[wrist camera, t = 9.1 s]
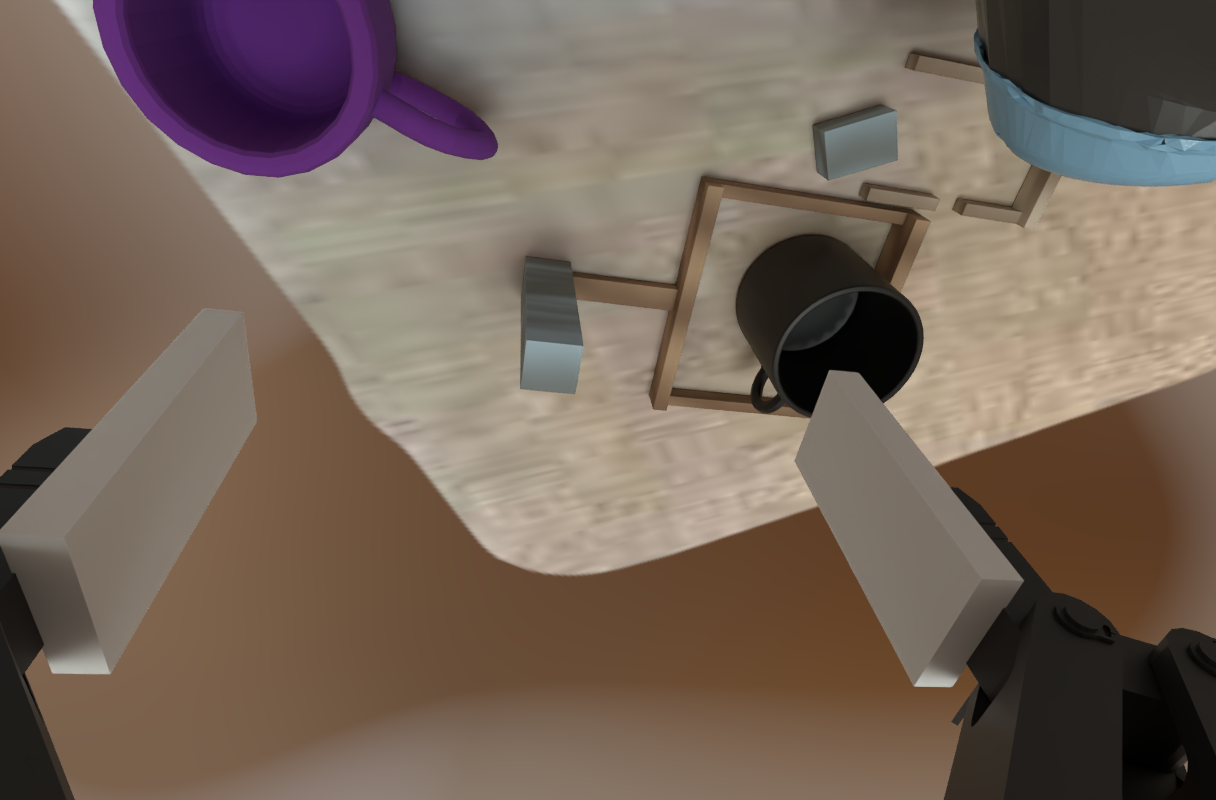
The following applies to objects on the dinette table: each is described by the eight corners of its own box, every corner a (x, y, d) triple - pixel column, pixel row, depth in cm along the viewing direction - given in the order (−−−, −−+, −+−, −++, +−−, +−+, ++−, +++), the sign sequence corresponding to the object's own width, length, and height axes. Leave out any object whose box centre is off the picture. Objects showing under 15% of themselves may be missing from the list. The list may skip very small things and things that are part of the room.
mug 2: (687, 345, 51) (716, 413, 43) (793, 207, 46) (846, 256, 38) (782, 398, 54) (824, 469, 47) (890, 274, 49) (956, 332, 42)
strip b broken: (839, 39, 41) (853, 42, 39) (1081, 87, 44) (1103, 92, 42) (794, 184, 45) (804, 193, 43) (1016, 219, 48) (1034, 229, 46)
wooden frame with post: (538, 151, 42) (542, 211, 32) (912, 209, 47) (1018, 278, 37) (511, 381, 51) (508, 486, 41) (830, 412, 55) (897, 513, 45)
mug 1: (166, 71, 38) (66, 104, 30) (214, -158, 33) (110, -196, 25) (462, 213, 44) (448, 273, 36) (541, 36, 39) (545, 57, 31)
